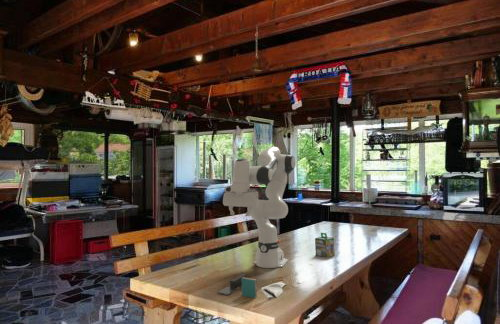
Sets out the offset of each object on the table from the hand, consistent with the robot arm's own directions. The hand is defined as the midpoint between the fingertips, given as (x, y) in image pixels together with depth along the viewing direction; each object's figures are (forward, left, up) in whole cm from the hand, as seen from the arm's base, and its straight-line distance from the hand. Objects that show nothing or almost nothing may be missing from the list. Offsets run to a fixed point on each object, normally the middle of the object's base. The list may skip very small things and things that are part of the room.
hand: (239, 215), depth 183 cm
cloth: (+4, +21, -35) cm, 41 cm away
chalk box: (-70, +22, -34) cm, 81 cm away
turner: (+9, +2, -34) cm, 35 cm away
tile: (+16, +14, -34) cm, 40 cm away
